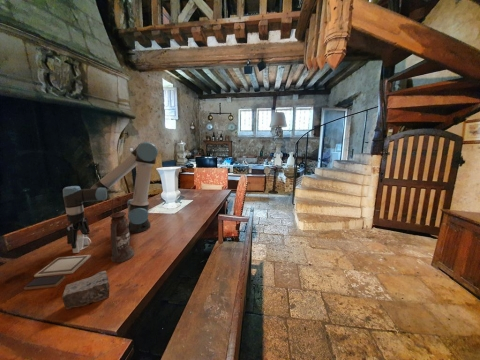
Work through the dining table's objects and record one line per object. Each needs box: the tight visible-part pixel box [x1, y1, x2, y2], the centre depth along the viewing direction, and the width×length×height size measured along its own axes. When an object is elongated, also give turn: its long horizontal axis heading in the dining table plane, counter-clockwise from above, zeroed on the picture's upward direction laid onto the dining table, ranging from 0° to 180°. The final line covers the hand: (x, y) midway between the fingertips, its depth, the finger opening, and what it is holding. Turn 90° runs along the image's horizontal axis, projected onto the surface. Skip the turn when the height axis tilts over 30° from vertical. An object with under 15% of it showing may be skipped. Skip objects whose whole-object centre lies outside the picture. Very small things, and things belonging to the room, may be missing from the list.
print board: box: [33, 254, 92, 278], centre depth 93 cm, size 16×14×1 cm
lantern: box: [109, 195, 135, 263], centre depth 98 cm, size 11×16×35 cm
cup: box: [76, 233, 92, 251], centre depth 107 cm, size 7×10×8 cm
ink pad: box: [23, 274, 67, 291], centre depth 81 cm, size 12×6×2 cm, turn 100°
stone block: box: [62, 270, 110, 310], centre depth 74 cm, size 14×9×8 cm, turn 124°
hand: (81, 248), depth 108 cm, fingers open, 8 cm apart
